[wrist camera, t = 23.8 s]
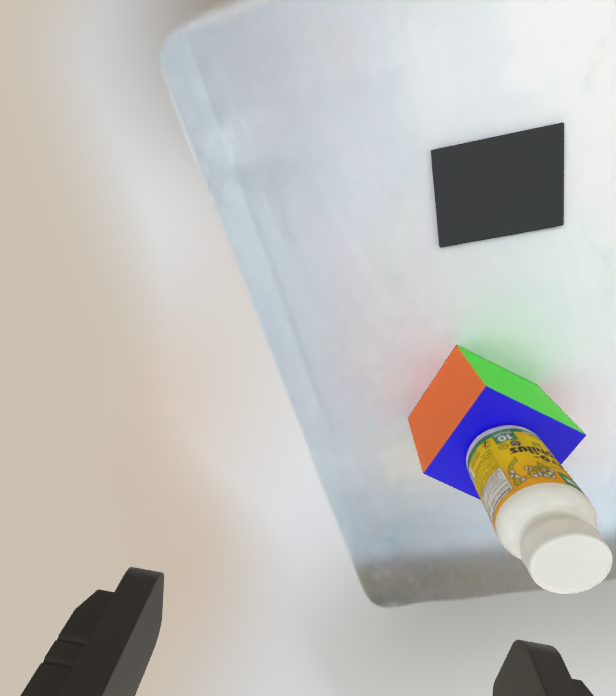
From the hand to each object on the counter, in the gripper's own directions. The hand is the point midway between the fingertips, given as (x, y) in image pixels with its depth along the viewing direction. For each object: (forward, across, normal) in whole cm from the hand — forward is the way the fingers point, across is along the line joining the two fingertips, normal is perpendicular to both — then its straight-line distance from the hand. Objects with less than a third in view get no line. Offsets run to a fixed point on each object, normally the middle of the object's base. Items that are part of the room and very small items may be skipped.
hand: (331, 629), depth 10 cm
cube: (+28, -13, +6) cm, 32 cm away
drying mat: (+28, -10, -11) cm, 32 cm away
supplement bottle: (+20, -13, +6) cm, 25 cm away
